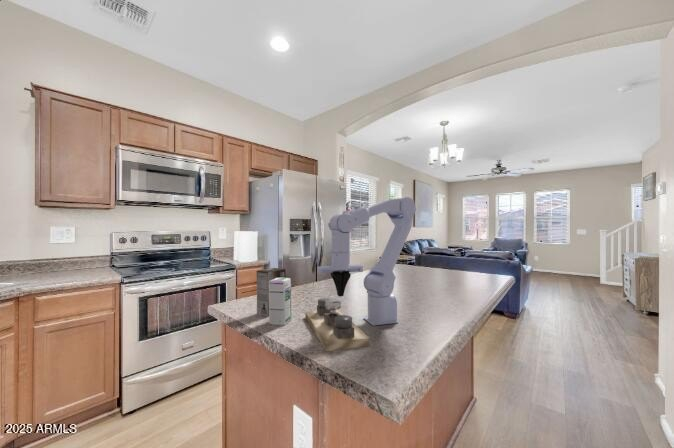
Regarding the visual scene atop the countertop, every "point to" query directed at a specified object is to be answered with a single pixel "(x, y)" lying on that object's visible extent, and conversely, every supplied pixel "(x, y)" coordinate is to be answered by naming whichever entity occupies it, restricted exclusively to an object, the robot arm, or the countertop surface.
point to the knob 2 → (343, 321)
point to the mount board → (335, 331)
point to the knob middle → (332, 306)
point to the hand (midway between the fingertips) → (340, 295)
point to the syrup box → (279, 301)
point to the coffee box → (266, 288)
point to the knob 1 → (322, 302)
